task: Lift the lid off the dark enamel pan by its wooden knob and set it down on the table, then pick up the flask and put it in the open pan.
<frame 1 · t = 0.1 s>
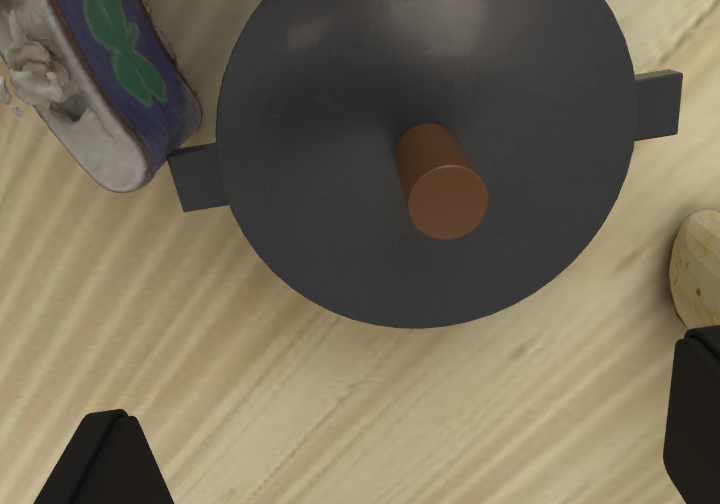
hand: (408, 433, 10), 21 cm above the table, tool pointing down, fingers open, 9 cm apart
flask: (141, 42, 27), on the table
pan lid: (424, 150, 22), point 7 cm above the table, touching pan
food model: (702, 268, 33), on the table
pan: (405, 108, 28), on the table
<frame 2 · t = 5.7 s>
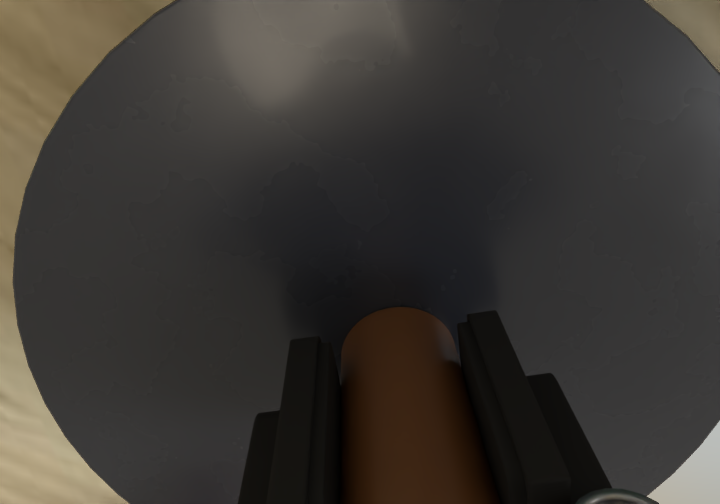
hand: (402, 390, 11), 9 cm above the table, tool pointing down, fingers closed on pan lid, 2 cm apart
pan lid: (396, 339, 12), point 8 cm above the table, touching gripper, pan
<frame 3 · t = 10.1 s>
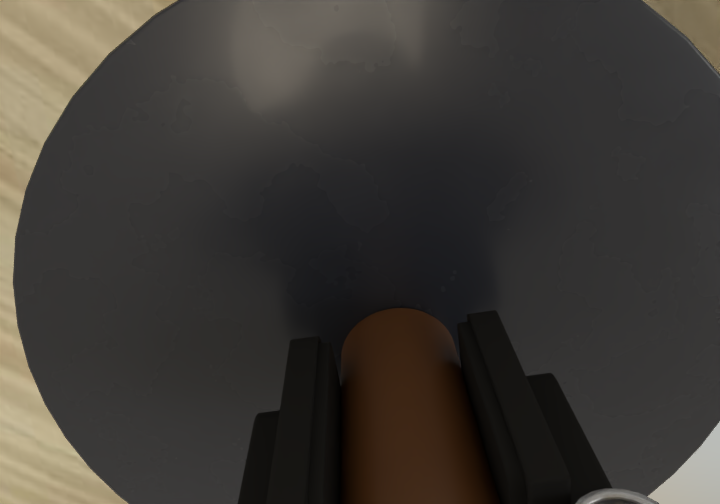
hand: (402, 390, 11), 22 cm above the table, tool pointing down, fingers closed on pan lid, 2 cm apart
pan lid: (396, 340, 12), point 20 cm above the table, touching gripper
when the fingers open (2 cm above the table, at t = 14.6 s): pan lid stays where it is, point 1 cm above the table.
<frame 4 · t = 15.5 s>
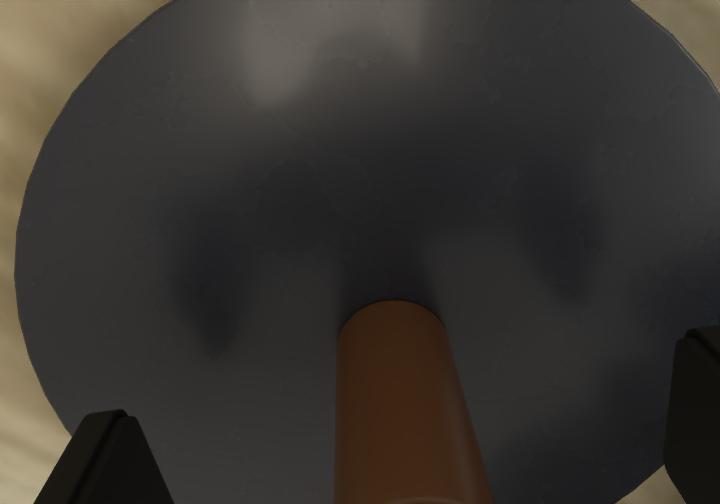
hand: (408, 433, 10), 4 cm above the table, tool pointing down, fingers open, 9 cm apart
pan lid: (390, 332, 13), point 1 cm above the table
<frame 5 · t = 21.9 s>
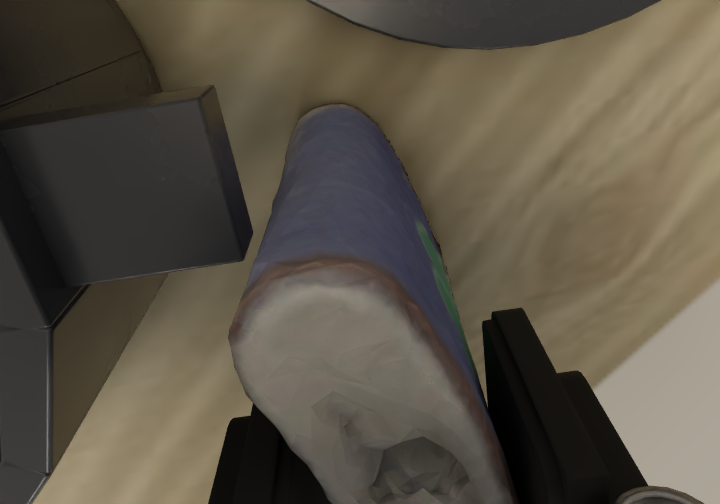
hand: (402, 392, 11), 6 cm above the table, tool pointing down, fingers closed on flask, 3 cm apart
flask: (385, 253, 16), on the table, touching gripper
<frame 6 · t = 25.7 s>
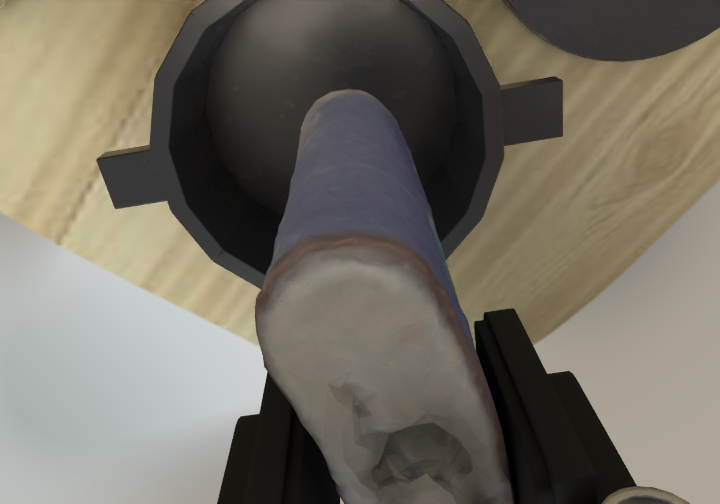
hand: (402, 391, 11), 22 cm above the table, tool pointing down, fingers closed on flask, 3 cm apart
flask: (384, 244, 16), point 16 cm above the table, touching gripper
pan: (332, 112, 31), on the table
when the fingers open (6 cm above the table, at t = 29.5 s): flask stays where it is, resting on pan.
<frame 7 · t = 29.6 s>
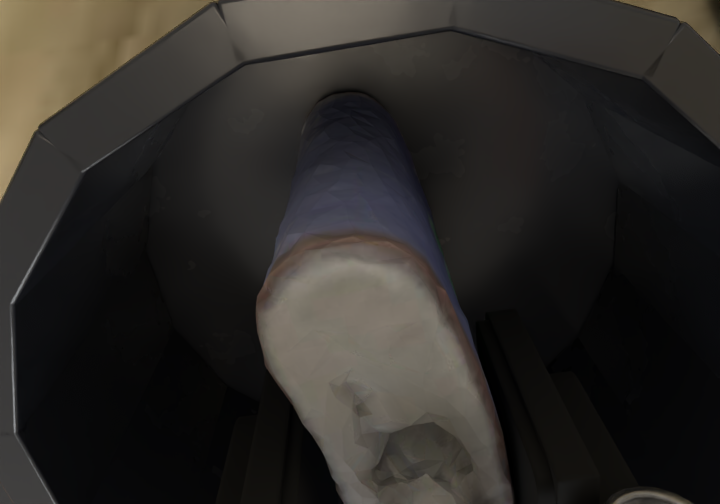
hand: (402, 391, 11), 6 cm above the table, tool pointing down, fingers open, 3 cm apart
flask: (384, 247, 16), resting on pan
pan: (382, 249, 17), on the table
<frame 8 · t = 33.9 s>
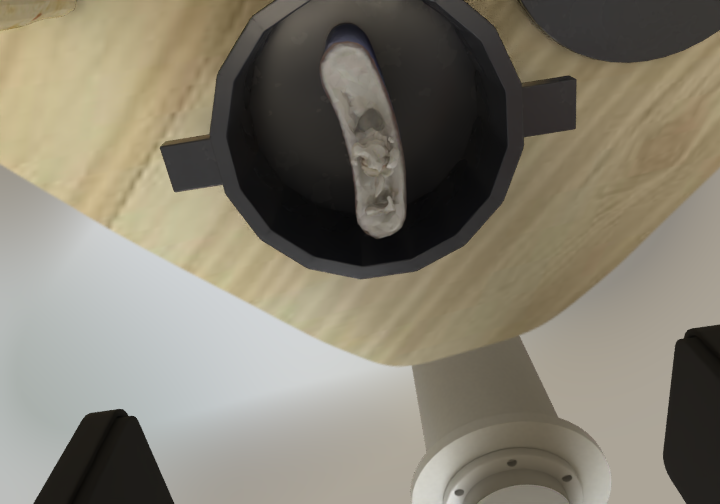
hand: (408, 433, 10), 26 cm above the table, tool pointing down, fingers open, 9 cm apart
flask: (364, 104, 33), resting on pan
pan: (363, 107, 34), on the table
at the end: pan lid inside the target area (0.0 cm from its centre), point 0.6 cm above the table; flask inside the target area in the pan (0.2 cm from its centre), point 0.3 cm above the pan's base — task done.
